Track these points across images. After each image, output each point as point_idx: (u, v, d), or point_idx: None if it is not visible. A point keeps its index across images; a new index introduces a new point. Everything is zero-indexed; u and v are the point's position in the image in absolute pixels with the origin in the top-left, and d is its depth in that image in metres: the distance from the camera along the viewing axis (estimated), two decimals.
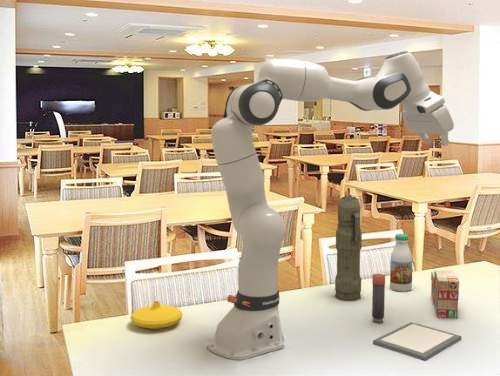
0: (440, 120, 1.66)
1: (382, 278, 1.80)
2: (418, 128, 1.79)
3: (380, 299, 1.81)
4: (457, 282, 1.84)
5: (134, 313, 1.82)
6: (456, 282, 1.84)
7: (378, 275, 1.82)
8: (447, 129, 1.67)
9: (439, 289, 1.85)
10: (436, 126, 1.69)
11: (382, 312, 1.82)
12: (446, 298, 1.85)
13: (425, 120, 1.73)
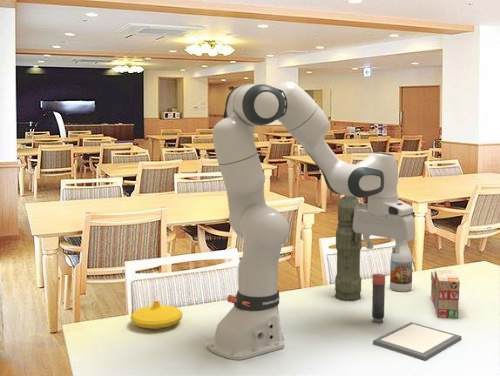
0: (408, 226, 1.72)
1: (382, 278, 1.80)
2: (370, 230, 1.81)
3: (380, 299, 1.81)
4: (458, 282, 1.84)
5: (134, 313, 1.82)
6: (457, 282, 1.84)
7: (378, 275, 1.82)
8: (410, 237, 1.72)
9: (440, 289, 1.85)
10: (399, 231, 1.73)
11: (382, 312, 1.82)
12: (446, 298, 1.85)
13: (386, 223, 1.77)
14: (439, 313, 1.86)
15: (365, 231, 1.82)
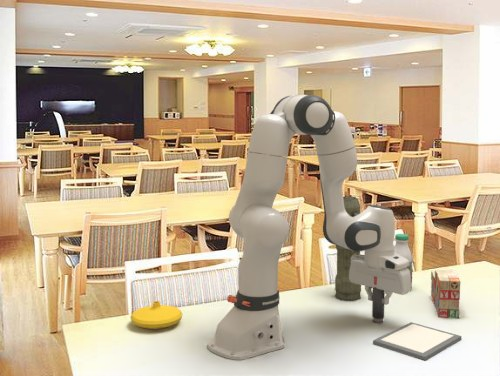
0: (405, 281, 1.74)
1: None
2: (367, 281, 1.83)
3: (380, 298, 1.81)
4: (458, 282, 1.84)
5: (134, 313, 1.82)
6: (457, 282, 1.84)
7: None
8: (406, 291, 1.74)
9: (440, 289, 1.85)
10: (396, 285, 1.75)
11: (382, 312, 1.82)
12: (447, 297, 1.85)
13: (382, 276, 1.79)
14: (440, 313, 1.86)
15: (361, 282, 1.84)
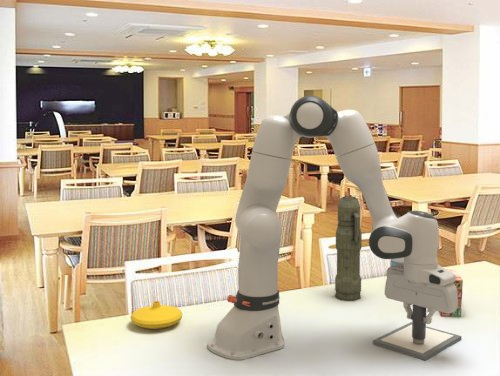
0: (451, 298, 1.53)
1: None
2: (406, 297, 1.62)
3: (421, 317, 1.60)
4: (461, 281, 1.85)
5: (134, 313, 1.82)
6: (460, 281, 1.85)
7: None
8: (453, 309, 1.54)
9: None
10: (441, 302, 1.55)
11: (424, 332, 1.61)
12: None
13: (425, 292, 1.58)
14: (442, 312, 1.87)
15: (399, 298, 1.64)
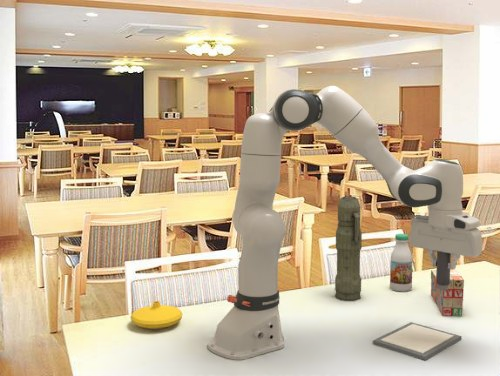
0: (476, 242, 1.57)
1: None
2: (431, 244, 1.66)
3: (446, 263, 1.64)
4: (462, 280, 1.86)
5: (134, 313, 1.82)
6: (461, 280, 1.86)
7: None
8: (477, 253, 1.58)
9: None
10: (466, 247, 1.59)
11: (448, 278, 1.65)
12: (451, 296, 1.87)
13: (449, 237, 1.62)
14: (444, 311, 1.88)
15: (424, 245, 1.68)
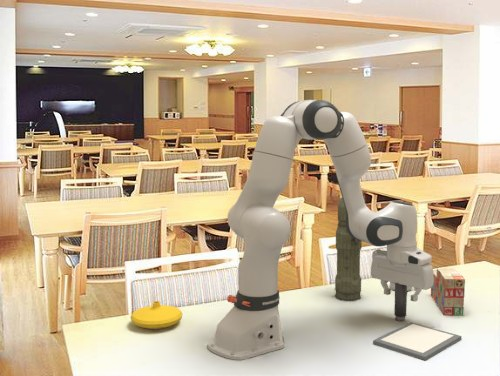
0: (428, 276, 1.75)
1: None
2: (389, 277, 1.84)
3: (402, 297, 1.82)
4: (463, 280, 1.86)
5: (134, 313, 1.82)
6: (462, 280, 1.86)
7: None
8: (429, 286, 1.76)
9: (445, 287, 1.87)
10: (419, 280, 1.77)
11: (404, 310, 1.83)
12: (452, 295, 1.87)
13: (405, 271, 1.80)
14: (445, 311, 1.88)
15: (383, 277, 1.85)
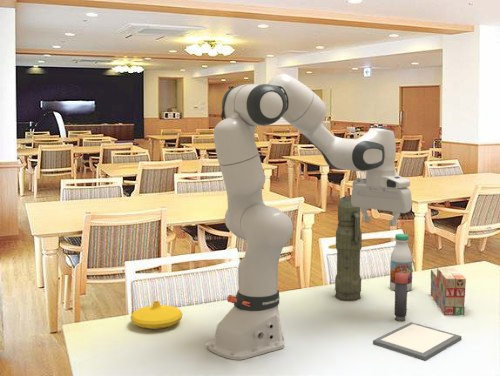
0: (405, 199, 1.78)
1: (405, 277, 1.81)
2: (368, 203, 1.87)
3: (403, 297, 1.82)
4: (464, 279, 1.87)
5: (134, 313, 1.82)
6: (463, 279, 1.87)
7: (401, 274, 1.83)
8: (407, 209, 1.78)
9: (446, 287, 1.87)
10: (397, 204, 1.79)
11: (404, 310, 1.83)
12: (453, 295, 1.88)
13: (384, 196, 1.83)
14: (446, 310, 1.88)
15: (363, 205, 1.88)
